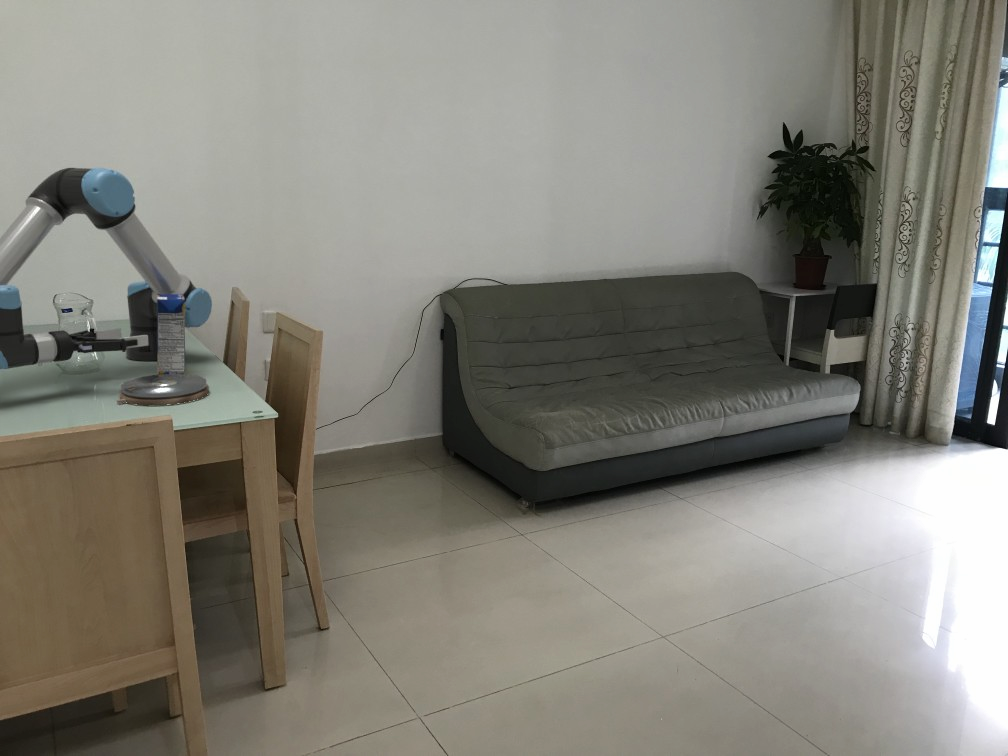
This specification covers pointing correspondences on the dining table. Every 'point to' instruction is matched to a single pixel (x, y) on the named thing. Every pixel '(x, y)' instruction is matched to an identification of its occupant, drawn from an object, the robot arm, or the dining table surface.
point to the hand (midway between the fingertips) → (133, 336)
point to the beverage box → (171, 333)
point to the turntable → (163, 386)
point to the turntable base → (162, 401)
